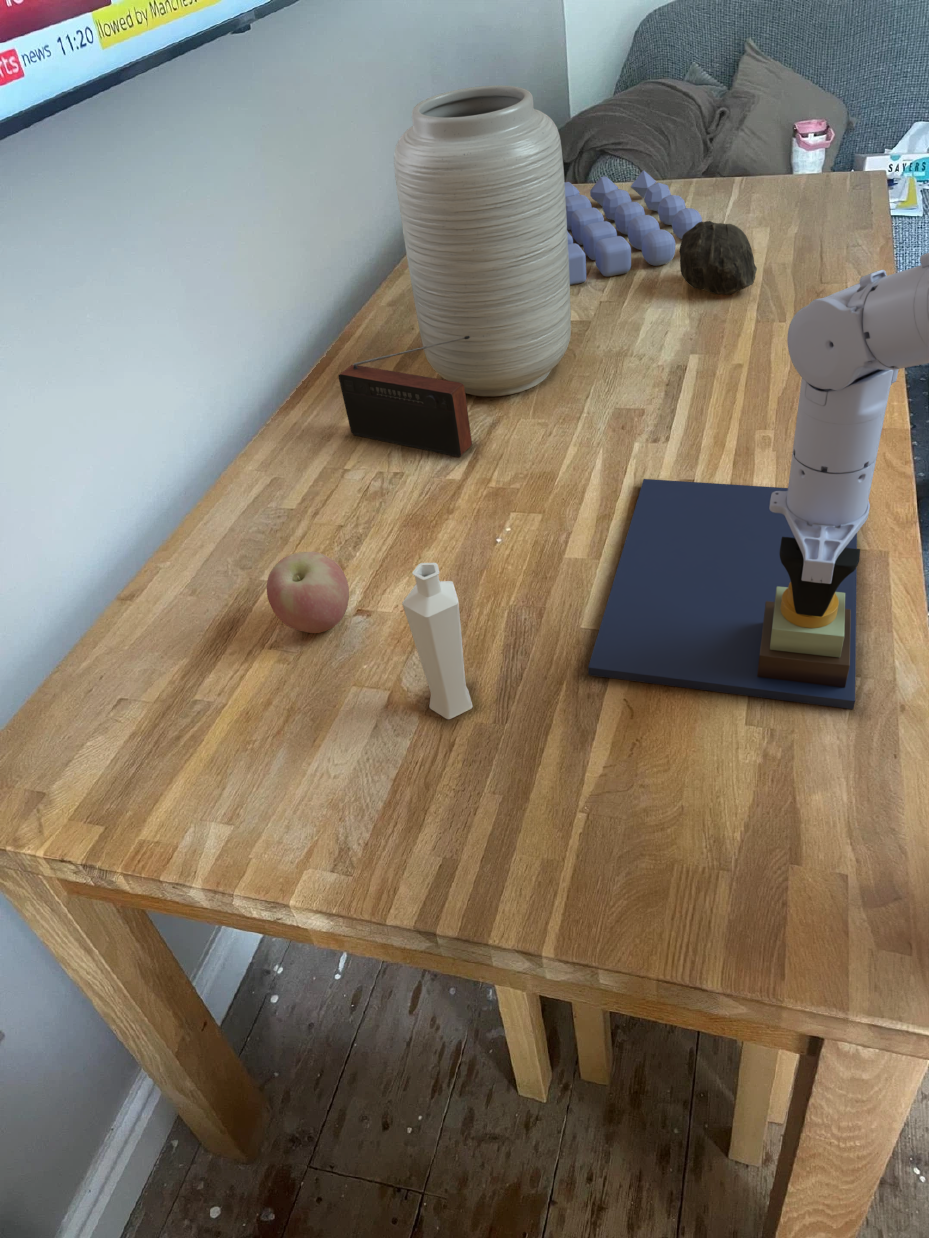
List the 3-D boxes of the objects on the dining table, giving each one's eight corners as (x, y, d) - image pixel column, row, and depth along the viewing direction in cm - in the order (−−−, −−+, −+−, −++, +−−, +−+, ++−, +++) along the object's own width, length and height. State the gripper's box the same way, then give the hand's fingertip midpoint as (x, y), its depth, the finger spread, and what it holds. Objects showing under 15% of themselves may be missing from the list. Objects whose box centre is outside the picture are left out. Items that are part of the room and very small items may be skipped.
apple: (263, 635, 93) (241, 572, 88) (314, 590, 97) (295, 528, 92) (323, 661, 89) (303, 597, 84) (372, 613, 94) (356, 549, 88)
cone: (848, 615, 77) (859, 561, 73) (805, 635, 75) (813, 582, 72) (811, 586, 80) (819, 533, 76) (769, 605, 79) (775, 552, 75)
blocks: (471, 226, 173) (467, 198, 170) (652, 192, 175) (652, 163, 172) (511, 298, 147) (508, 267, 143) (723, 257, 148) (725, 225, 145)
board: (853, 709, 77) (855, 701, 76) (588, 675, 84) (587, 667, 83) (856, 500, 98) (857, 492, 97) (643, 486, 104) (643, 478, 104)
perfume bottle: (464, 727, 81) (440, 594, 71) (420, 715, 82) (390, 583, 73) (486, 690, 84) (466, 558, 74) (442, 679, 85) (417, 548, 76)
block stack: (845, 688, 77) (854, 643, 74) (757, 677, 80) (761, 633, 76) (846, 631, 82) (855, 587, 79) (763, 622, 84) (768, 579, 81)
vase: (568, 406, 119) (552, 118, 97) (414, 411, 123) (365, 135, 101) (578, 335, 134) (567, 70, 112) (440, 341, 138) (403, 87, 116)
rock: (750, 299, 134) (747, 225, 129) (672, 305, 139) (666, 235, 134) (764, 278, 141) (761, 207, 136) (689, 284, 146) (684, 217, 141)
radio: (349, 436, 121) (324, 325, 111) (363, 424, 122) (339, 314, 113) (474, 462, 112) (458, 345, 102) (486, 449, 114) (472, 333, 104)
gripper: (785, 399, 74) (769, 537, 83) (765, 504, 64) (749, 648, 73) (882, 404, 72) (855, 545, 80) (877, 514, 62) (846, 662, 71)
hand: (811, 595), depth 77 cm, fingers closed on cone, 3 cm apart
